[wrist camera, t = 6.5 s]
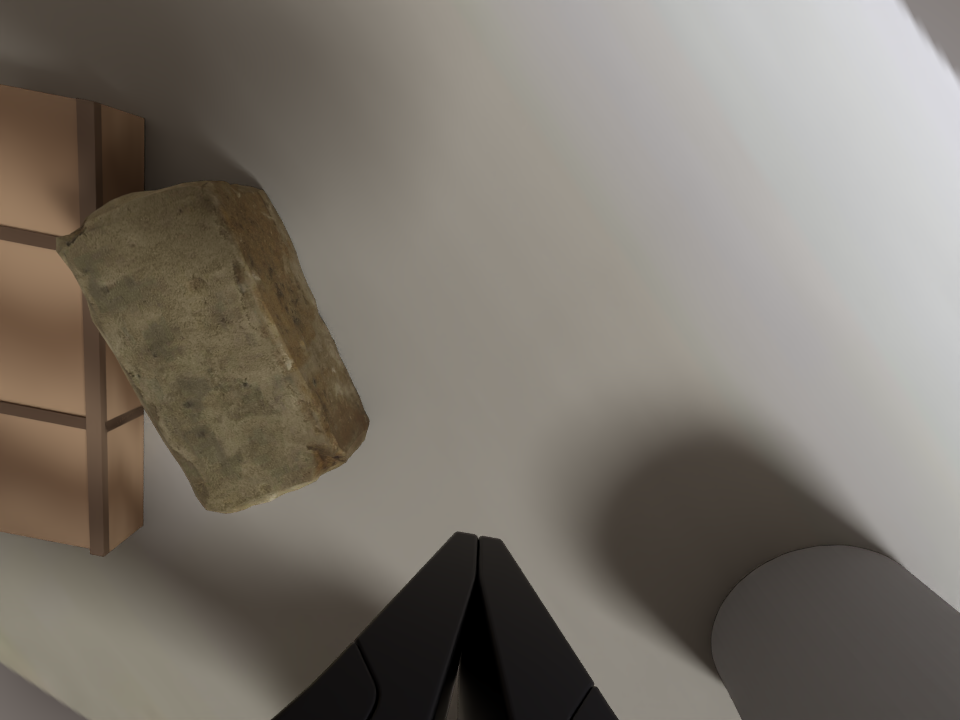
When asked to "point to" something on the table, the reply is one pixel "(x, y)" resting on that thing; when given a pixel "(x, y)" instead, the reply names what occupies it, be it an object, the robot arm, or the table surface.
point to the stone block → (219, 338)
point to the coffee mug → (838, 641)
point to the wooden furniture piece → (63, 328)
